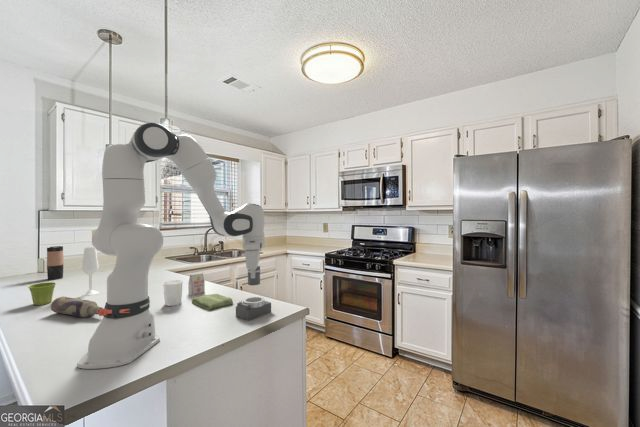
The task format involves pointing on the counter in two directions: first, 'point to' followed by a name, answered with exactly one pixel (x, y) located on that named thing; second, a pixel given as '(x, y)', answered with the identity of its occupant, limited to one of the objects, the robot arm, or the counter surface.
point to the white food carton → (196, 284)
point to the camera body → (252, 308)
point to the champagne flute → (90, 266)
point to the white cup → (172, 292)
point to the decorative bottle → (75, 307)
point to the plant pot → (42, 293)
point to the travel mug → (55, 262)
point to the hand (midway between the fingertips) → (253, 276)
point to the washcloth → (212, 301)
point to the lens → (255, 280)
